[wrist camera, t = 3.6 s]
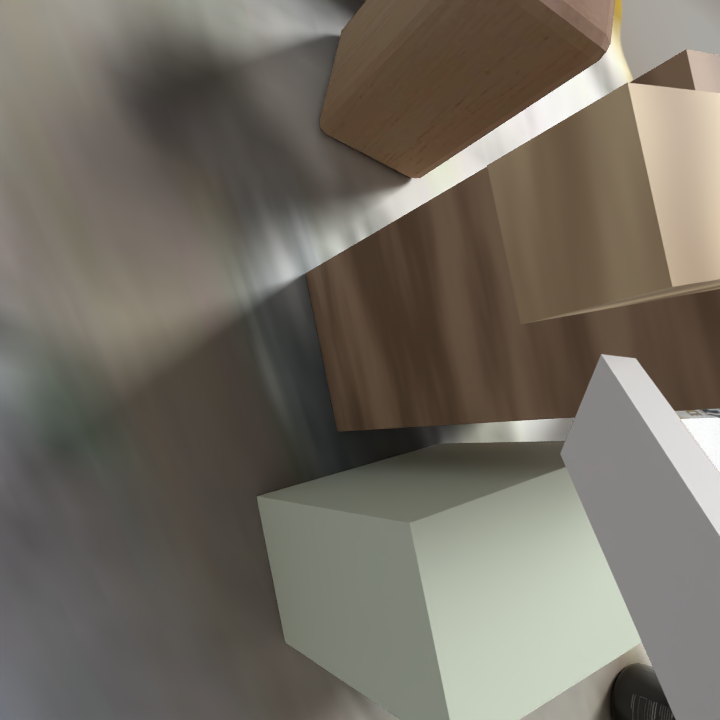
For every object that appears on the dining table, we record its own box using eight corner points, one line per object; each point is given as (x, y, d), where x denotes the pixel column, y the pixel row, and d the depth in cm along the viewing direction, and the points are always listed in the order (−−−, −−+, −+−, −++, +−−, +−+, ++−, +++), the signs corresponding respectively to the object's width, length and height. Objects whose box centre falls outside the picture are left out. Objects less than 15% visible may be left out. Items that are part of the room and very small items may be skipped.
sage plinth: (285, 642, 42) (457, 758, 26) (256, 496, 42) (409, 523, 26) (464, 565, 50) (679, 618, 34) (439, 443, 50) (641, 439, 35)
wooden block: (435, 87, 55) (630, -78, 38) (416, 186, 53) (616, 57, 35) (338, 28, 51) (510, -190, 34) (312, 133, 48) (483, -45, 31)
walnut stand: (337, 431, 46) (766, 405, 20) (305, 273, 46) (686, 49, 21) (512, 388, 55) (960, 331, 29) (484, 256, 55) (903, 86, 30)
